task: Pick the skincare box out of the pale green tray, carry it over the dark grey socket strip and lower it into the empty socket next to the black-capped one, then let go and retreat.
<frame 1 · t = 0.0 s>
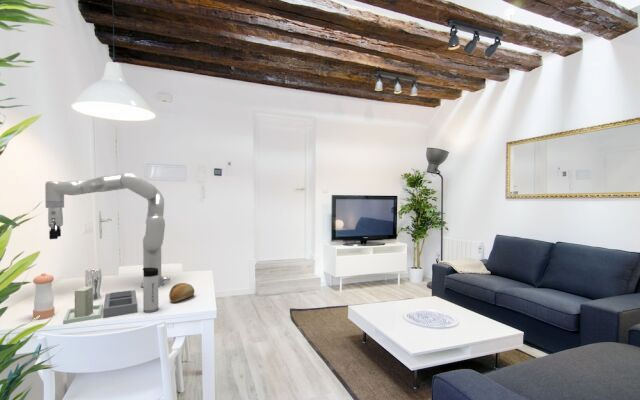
hand: (55, 237, 168), 31 cm above the table, tool pointing down, fingers open, 9 cm apart
bread roll: (181, 299, 168), on the table
travel mug: (150, 310, 152), on the table
socket strip: (120, 306, 156), on the table
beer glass: (93, 299, 166), on the table
tray: (84, 315, 145), on the table
salt shaker: (43, 316, 143), on the table
skincare box: (84, 315, 145), resting in tray
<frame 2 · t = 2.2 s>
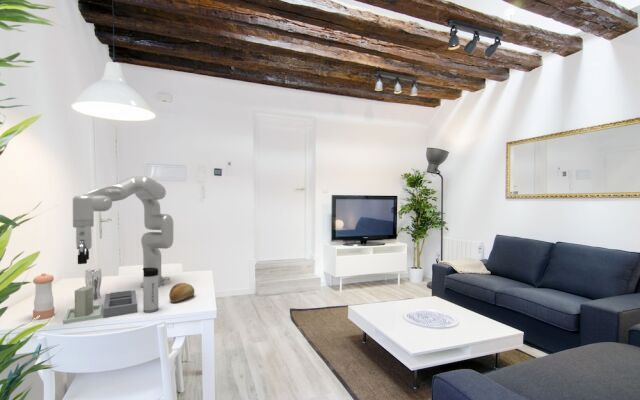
hand: (83, 261, 144), 24 cm above the table, tool pointing down, fingers open, 9 cm apart
nothing on the table moved.
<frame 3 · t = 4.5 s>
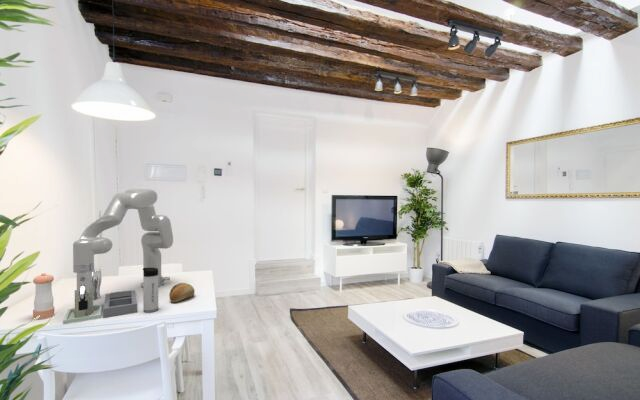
hand: (84, 306, 145), 4 cm above the table, tool pointing down, fingers closed on skincare box, 7 cm apart
skincare box: (84, 315, 145), resting in tray, touching gripper
everything else where it was.
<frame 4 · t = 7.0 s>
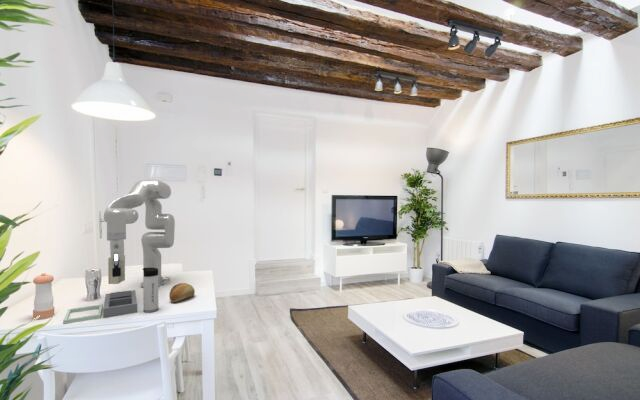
hand: (117, 274, 150), 17 cm above the table, tool pointing down, fingers closed on skincare box, 7 cm apart
skincare box: (116, 282, 150), point 13 cm above the table, touching gripper
everything else where it was.
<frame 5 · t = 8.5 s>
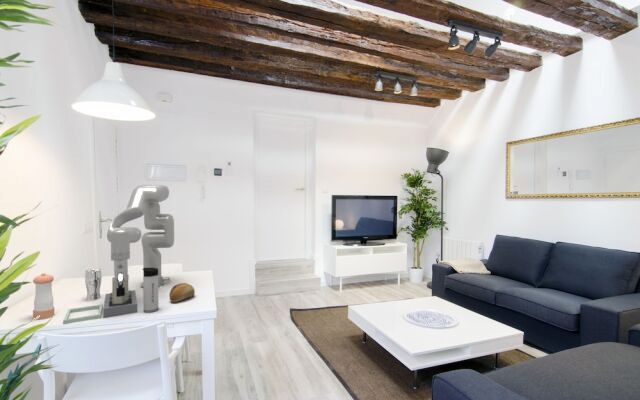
hand: (120, 293, 150), 8 cm above the table, tool pointing down, fingers closed on skincare box, 7 cm apart
skincare box: (120, 302, 151), point 4 cm above the table, touching gripper
everything else where it was.
when the fingers open (5 cm above the table, at t = 9.6 s): skincare box drops 1 cm, resting in socket strip.
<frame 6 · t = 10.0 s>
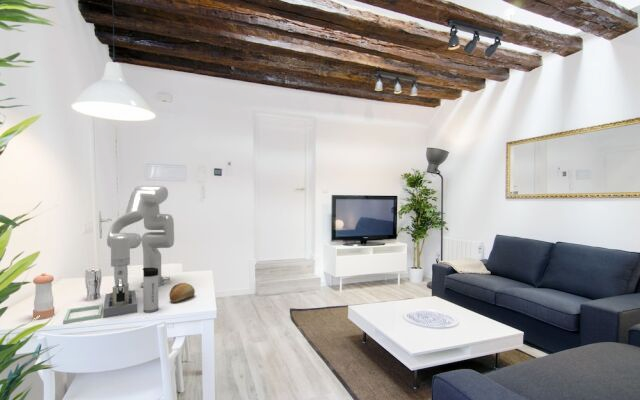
hand: (120, 298, 151), 6 cm above the table, tool pointing down, fingers open, 9 cm apart
skincare box: (120, 311, 151), resting in socket strip
everything else where it was.
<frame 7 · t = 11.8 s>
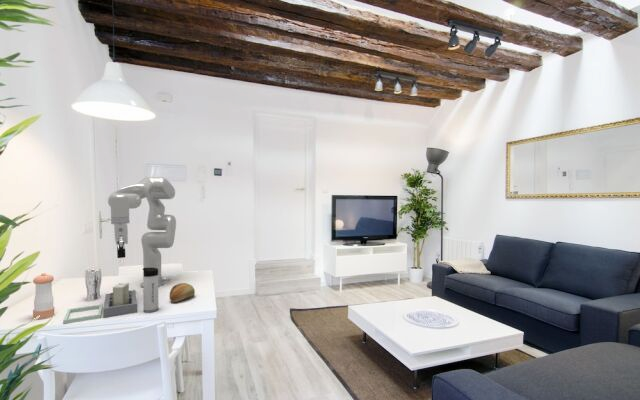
hand: (121, 255, 156), 25 cm above the table, tool pointing down, fingers open, 9 cm apart
nothing on the table moved.
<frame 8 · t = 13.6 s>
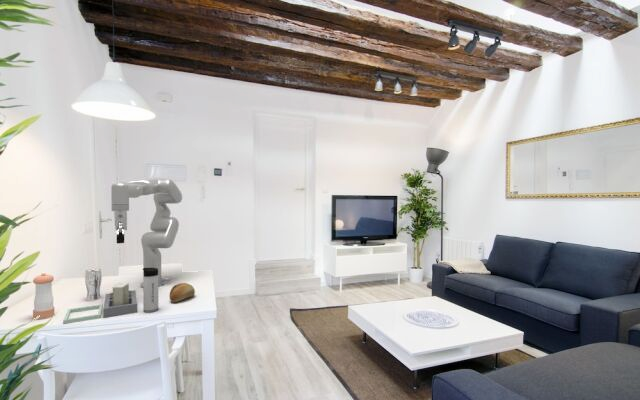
hand: (120, 241, 163), 30 cm above the table, tool pointing down, fingers open, 9 cm apart
nothing on the table moved.
at the end: skincare box inside the target area on the socket strip (0.3 cm from its centre), point 0.0 cm above the socket strip's base; skincare box tilted 0°; the gripper is holding nothing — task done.
